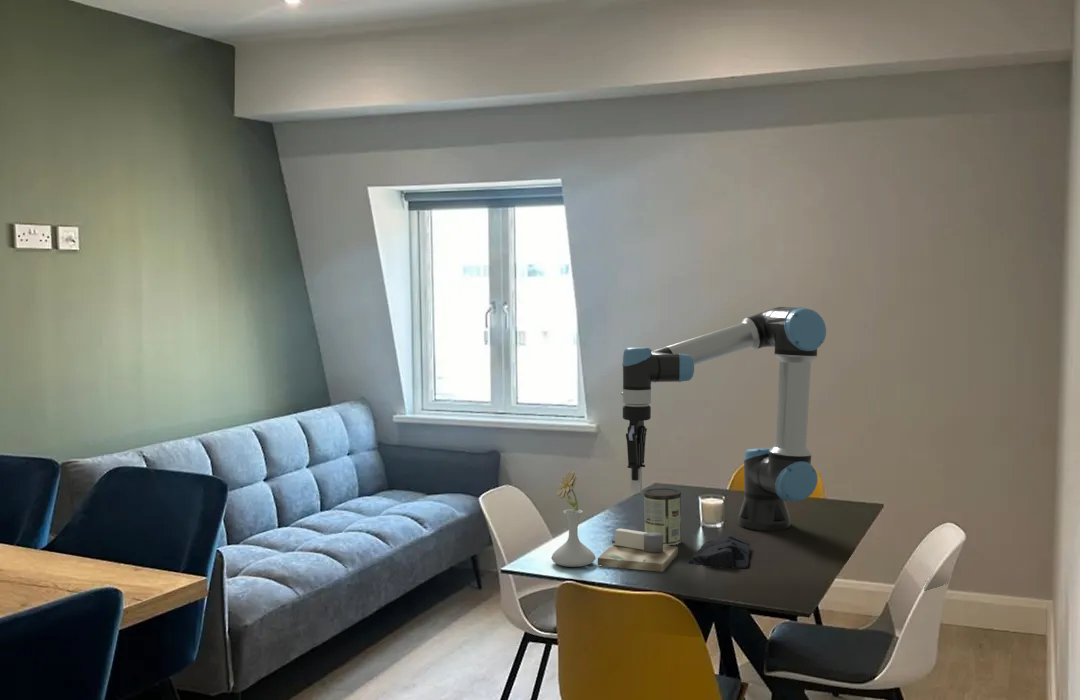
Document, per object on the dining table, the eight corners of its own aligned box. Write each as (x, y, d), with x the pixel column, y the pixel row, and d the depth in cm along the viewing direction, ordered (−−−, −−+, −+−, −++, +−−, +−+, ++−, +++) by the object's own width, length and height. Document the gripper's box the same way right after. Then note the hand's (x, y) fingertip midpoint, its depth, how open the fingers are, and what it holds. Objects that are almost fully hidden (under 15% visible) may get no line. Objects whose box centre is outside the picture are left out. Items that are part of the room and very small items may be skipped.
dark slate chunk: (758, 549, 270) (758, 532, 270) (746, 572, 250) (746, 553, 249) (701, 545, 276) (701, 528, 275) (686, 567, 255) (686, 548, 255)
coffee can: (650, 535, 285) (650, 486, 284) (685, 539, 281) (685, 489, 280) (638, 544, 276) (638, 493, 275) (674, 548, 271) (674, 496, 270)
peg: (666, 549, 261) (666, 534, 261) (657, 553, 257) (657, 538, 257) (617, 541, 270) (617, 526, 270) (608, 545, 266) (607, 530, 265)
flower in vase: (551, 558, 263) (550, 464, 261) (595, 558, 262) (594, 464, 261) (550, 572, 250) (549, 473, 248) (596, 572, 249) (595, 473, 248)
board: (677, 554, 265) (677, 546, 265) (661, 572, 248) (661, 564, 248) (616, 548, 271) (616, 541, 271) (596, 566, 254) (596, 558, 254)
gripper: (629, 401, 275) (629, 486, 277) (616, 406, 263) (615, 495, 265) (656, 402, 273) (655, 488, 274) (644, 408, 260) (643, 497, 262)
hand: (636, 491), depth 269 cm, fingers closed
